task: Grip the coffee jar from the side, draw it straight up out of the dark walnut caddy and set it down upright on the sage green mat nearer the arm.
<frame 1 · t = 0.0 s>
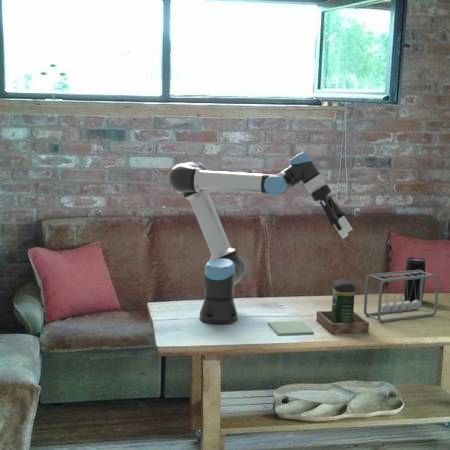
hand: (347, 234, 271), 36 cm above the table, tool tilted 35°, fingers open, 13 cm apart
walnut caddy: (341, 326, 272), on the table
portable speaker: (413, 301, 311), on the table
newton's cradle: (400, 316, 289), on the table
coffee jar: (341, 327, 272), resting in walnut caddy
sage mat: (290, 328, 268), on the table
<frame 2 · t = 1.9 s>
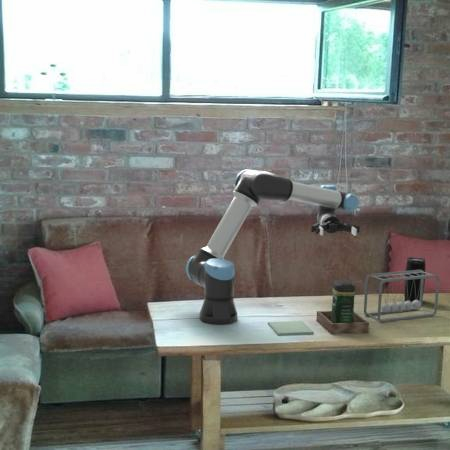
hand: (338, 232, 282), 35 cm above the table, tool horizontal, fingers open, 13 cm apart
nothing on the table moved.
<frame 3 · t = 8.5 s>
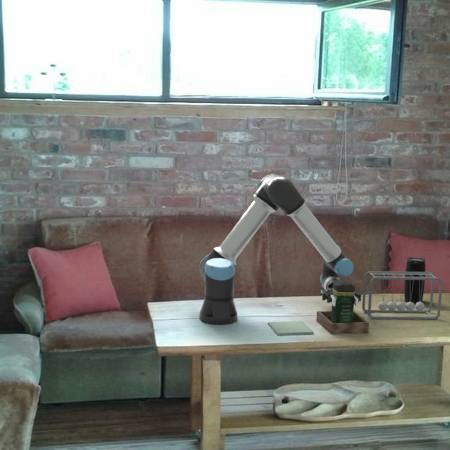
hand: (345, 302, 265), 11 cm above the table, tool horizontal, fingers closed on coffee jar, 8 cm apart
coffee jar: (341, 327, 272), resting in walnut caddy, touching gripper
when the fingers open (13 cm above the table, at t = 13.9 s): coffee jar drops 1 cm, resting on sage mat.
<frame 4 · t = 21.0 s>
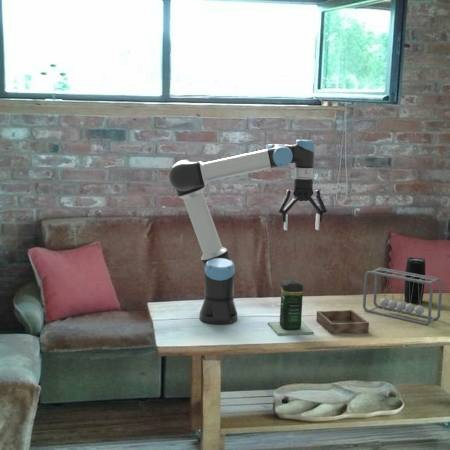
hand: (301, 229, 285), 35 cm above the table, tool pointing down, fingers open, 13 cm apart
coffee jar: (290, 327, 267), point 1 cm above the table, touching sage mat
at the end: coffee jar inside the target area on the sage mat (0.1 cm from its centre), point 0.6 cm above the sage mat's base; coffee jar tilted 0°; the gripper is holding nothing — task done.
